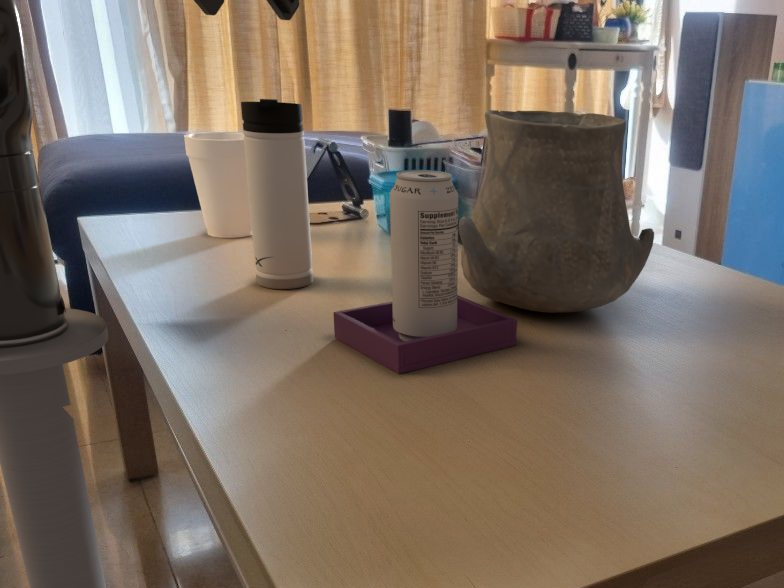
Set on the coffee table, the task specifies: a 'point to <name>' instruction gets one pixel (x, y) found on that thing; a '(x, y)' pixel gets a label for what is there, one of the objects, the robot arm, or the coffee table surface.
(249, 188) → the travel mug
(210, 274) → the coffee table surface
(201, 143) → the foam cup
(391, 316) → the tray
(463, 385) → the coffee table surface
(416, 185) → the energy drink can
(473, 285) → the vessel
